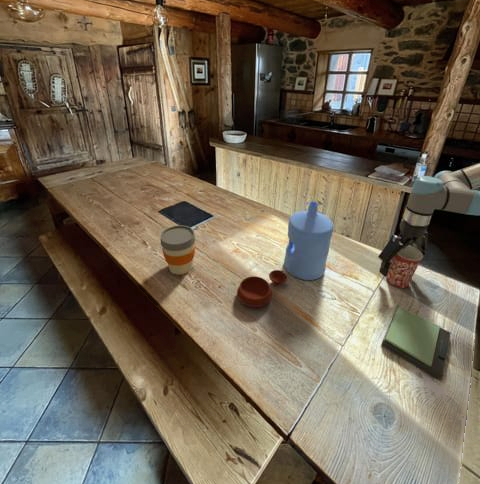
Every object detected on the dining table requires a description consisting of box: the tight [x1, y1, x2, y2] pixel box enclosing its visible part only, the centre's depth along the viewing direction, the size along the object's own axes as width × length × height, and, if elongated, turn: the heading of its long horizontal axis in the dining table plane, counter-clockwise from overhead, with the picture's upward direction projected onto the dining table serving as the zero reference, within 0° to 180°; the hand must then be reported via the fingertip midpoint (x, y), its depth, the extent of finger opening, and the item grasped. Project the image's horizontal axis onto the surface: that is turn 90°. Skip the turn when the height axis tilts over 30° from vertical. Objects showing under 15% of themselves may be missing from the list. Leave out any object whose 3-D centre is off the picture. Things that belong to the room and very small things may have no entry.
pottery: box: [236, 269, 288, 308], centre depth 91 cm, size 12×20×4 cm, turn 127°
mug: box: [385, 243, 424, 289], centre depth 97 cm, size 13×9×14 cm
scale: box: [380, 305, 451, 381], centre depth 76 cm, size 14×16×3 cm
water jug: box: [283, 201, 334, 281], centre depth 98 cm, size 16×16×28 cm
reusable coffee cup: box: [160, 224, 196, 275], centre depth 100 cm, size 13×13×15 cm
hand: (397, 270), depth 98 cm, fingers open, 13 cm apart
